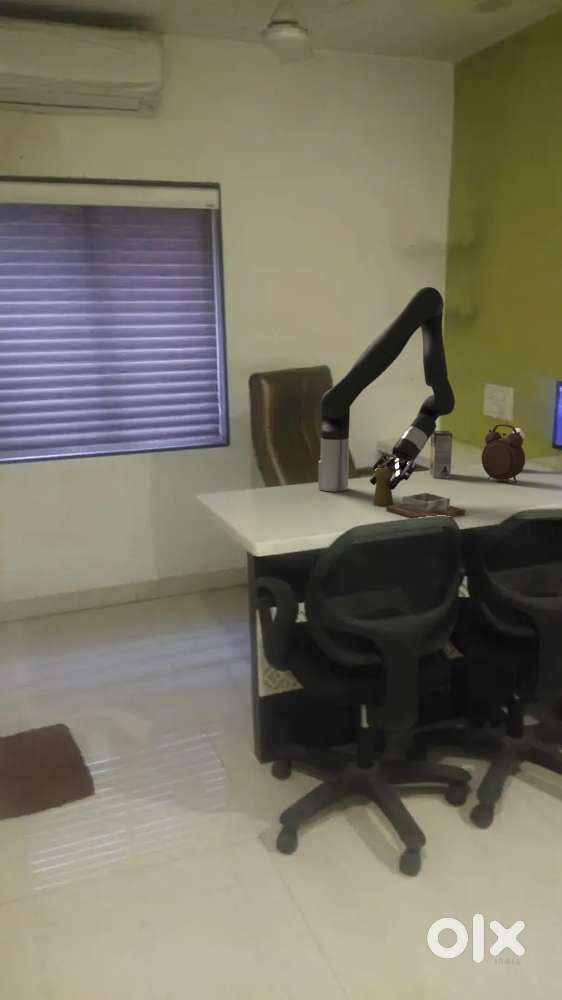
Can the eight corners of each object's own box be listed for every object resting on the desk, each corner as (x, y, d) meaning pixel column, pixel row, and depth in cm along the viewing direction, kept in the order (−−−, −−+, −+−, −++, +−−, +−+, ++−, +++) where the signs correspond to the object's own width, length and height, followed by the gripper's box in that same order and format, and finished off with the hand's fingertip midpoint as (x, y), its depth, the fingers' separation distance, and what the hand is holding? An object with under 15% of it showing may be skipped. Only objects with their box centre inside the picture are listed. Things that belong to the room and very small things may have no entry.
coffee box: (428, 473, 281) (430, 430, 278) (446, 473, 281) (448, 430, 278) (433, 478, 272) (435, 433, 269) (451, 478, 272) (453, 433, 269)
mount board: (424, 522, 211) (425, 506, 210) (386, 511, 224) (386, 496, 223) (465, 514, 220) (465, 499, 219) (425, 504, 233) (426, 489, 232)
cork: (395, 503, 235) (396, 467, 232) (389, 507, 229) (390, 471, 227) (376, 501, 237) (377, 466, 235) (370, 505, 232) (371, 469, 229)
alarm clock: (526, 483, 264) (530, 425, 259) (514, 486, 259) (518, 427, 255) (490, 477, 275) (494, 421, 270) (478, 479, 270) (481, 423, 266)
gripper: (388, 434, 239) (359, 474, 235) (420, 439, 227) (390, 481, 223) (400, 449, 243) (372, 489, 239) (432, 455, 231) (403, 497, 227)
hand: (380, 485), depth 231 cm, fingers open, 8 cm apart
